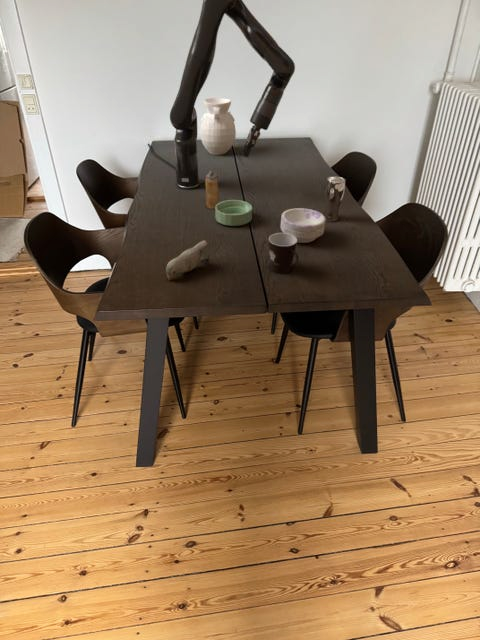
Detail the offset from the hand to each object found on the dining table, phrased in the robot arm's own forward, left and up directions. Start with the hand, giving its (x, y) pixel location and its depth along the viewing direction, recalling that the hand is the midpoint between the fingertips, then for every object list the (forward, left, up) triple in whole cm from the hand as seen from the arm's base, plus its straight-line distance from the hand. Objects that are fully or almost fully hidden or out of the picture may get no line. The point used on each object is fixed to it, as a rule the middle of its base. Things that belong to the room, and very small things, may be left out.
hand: (244, 154), depth 169 cm
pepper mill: (0, -16, -17) cm, 24 cm away
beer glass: (+37, +13, -18) cm, 43 cm away
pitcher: (-55, +28, -18) cm, 64 cm away
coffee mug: (+53, -28, -18) cm, 62 cm away
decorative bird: (+35, -51, -18) cm, 64 cm away
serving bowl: (+15, -17, -17) cm, 29 cm away
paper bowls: (+41, -7, -18) cm, 45 cm away
